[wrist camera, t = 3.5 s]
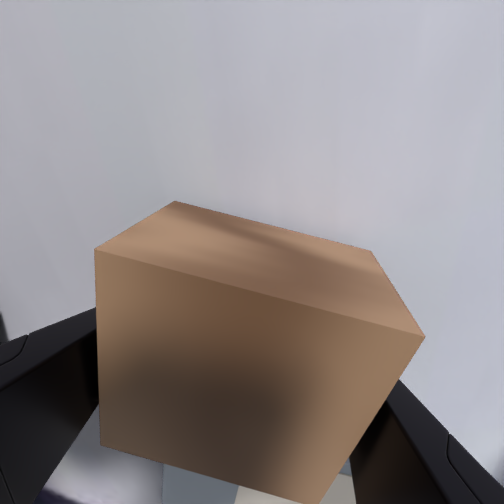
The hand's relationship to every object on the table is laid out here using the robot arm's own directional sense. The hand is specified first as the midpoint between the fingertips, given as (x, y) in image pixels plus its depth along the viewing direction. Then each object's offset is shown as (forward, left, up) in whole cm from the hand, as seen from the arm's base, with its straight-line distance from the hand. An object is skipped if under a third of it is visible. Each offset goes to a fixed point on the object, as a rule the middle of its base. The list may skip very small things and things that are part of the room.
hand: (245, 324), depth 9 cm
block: (0, 0, -1) cm, 1 cm away
